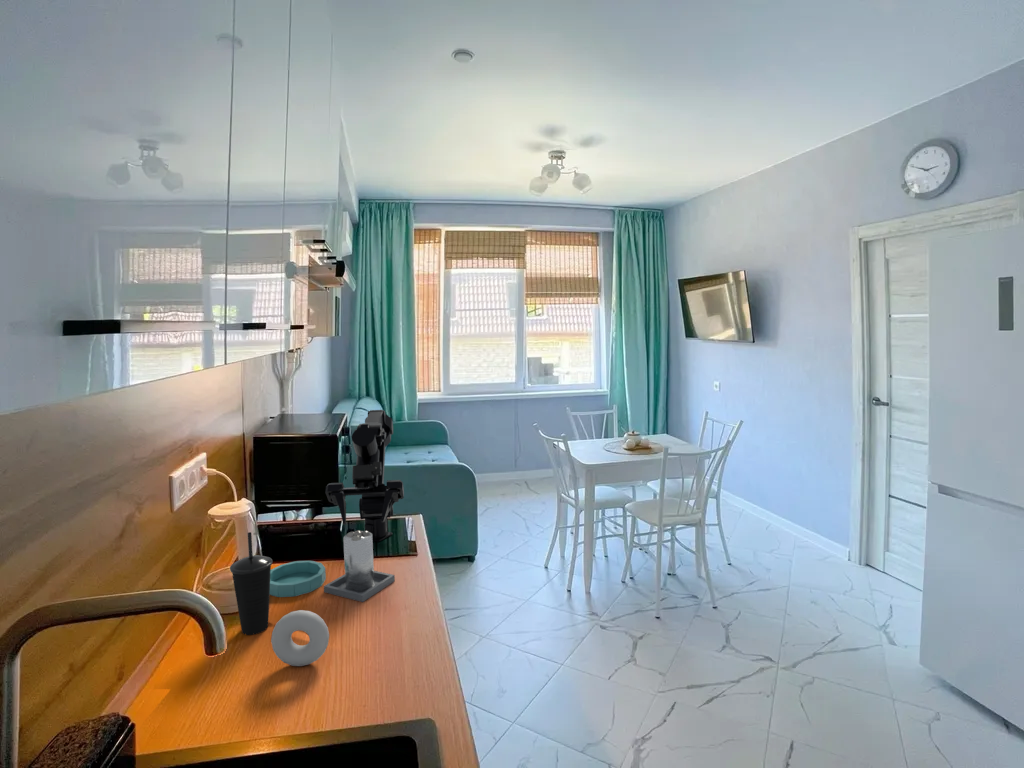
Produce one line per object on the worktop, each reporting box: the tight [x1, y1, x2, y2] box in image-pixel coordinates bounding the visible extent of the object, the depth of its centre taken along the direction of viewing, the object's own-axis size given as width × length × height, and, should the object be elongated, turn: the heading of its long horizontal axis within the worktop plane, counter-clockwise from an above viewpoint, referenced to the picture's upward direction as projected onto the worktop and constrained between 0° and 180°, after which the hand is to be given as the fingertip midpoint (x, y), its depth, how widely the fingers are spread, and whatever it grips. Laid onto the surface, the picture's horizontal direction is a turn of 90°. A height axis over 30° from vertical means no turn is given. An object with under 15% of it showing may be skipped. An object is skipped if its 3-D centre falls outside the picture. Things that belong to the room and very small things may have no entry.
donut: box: [270, 609, 330, 667], centre depth 98 cm, size 10×4×10 cm, turn 94°
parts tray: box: [323, 570, 396, 603], centre depth 127 cm, size 11×11×2 cm
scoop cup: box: [343, 529, 375, 593], centre depth 127 cm, size 6×6×13 cm
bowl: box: [269, 560, 327, 598], centre depth 129 cm, size 13×13×4 cm
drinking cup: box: [229, 532, 273, 636], centre depth 110 cm, size 8×8×20 cm
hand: (363, 522), depth 134 cm, fingers open, 9 cm apart
